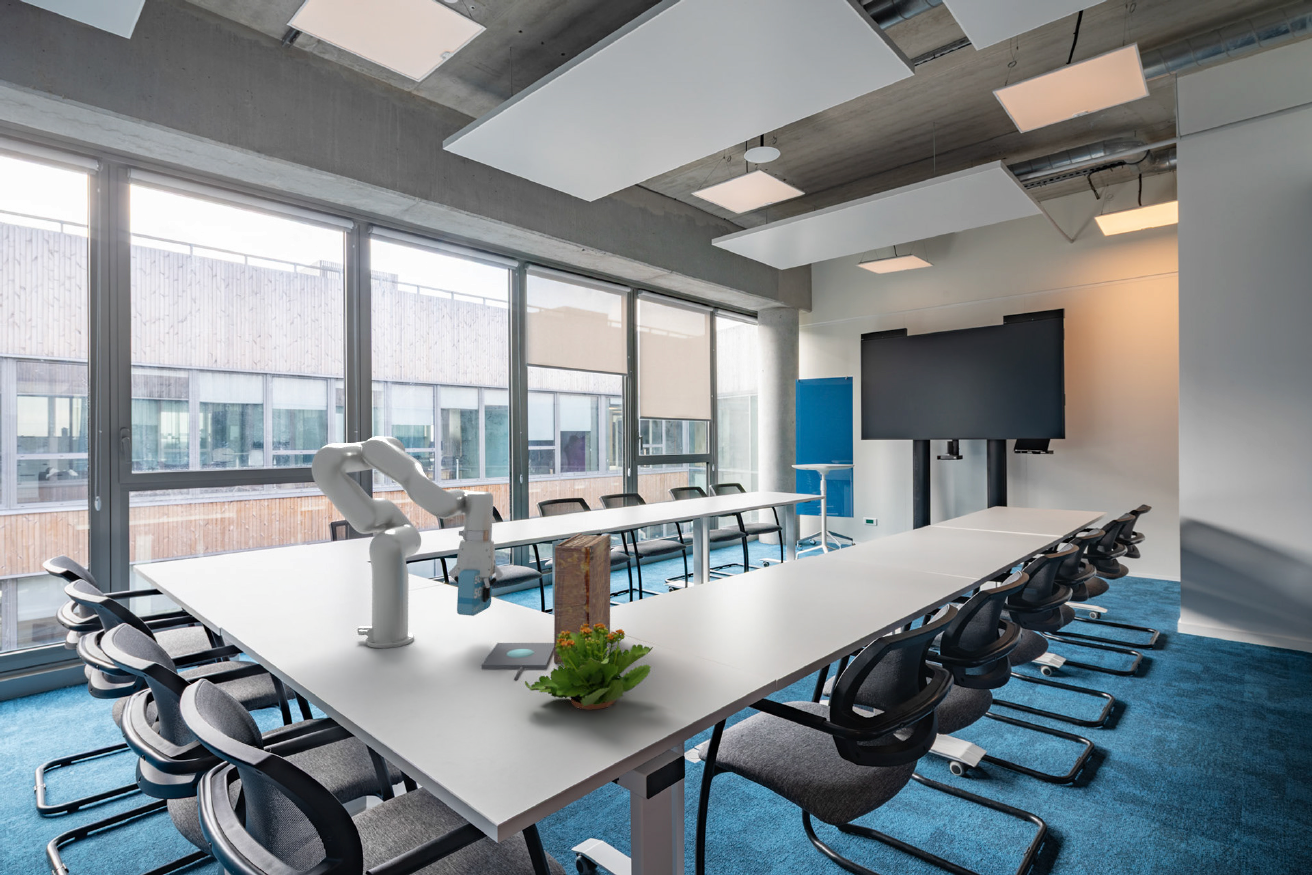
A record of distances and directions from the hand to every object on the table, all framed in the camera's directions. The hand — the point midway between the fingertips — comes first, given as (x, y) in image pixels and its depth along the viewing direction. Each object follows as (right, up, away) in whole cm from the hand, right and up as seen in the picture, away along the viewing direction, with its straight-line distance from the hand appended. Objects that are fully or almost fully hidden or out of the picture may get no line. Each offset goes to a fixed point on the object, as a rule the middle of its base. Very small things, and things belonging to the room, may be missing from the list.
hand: (474, 599), depth 184 cm
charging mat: (+15, -12, -15) cm, 24 cm away
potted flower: (+38, -13, -39) cm, 56 cm away
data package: (0, -3, 0) cm, 3 cm away
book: (+31, -13, -4) cm, 34 cm away
